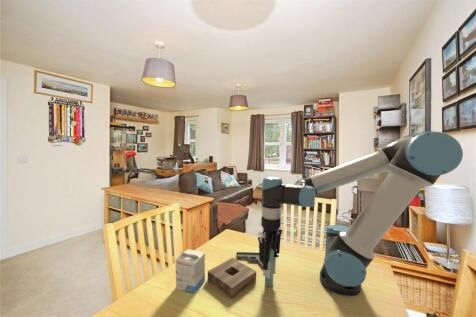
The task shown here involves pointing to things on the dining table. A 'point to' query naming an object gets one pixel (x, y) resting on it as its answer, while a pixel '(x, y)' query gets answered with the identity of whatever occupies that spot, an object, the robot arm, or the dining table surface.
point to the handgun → (249, 257)
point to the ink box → (190, 270)
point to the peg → (270, 281)
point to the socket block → (231, 277)
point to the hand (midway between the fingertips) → (269, 274)
